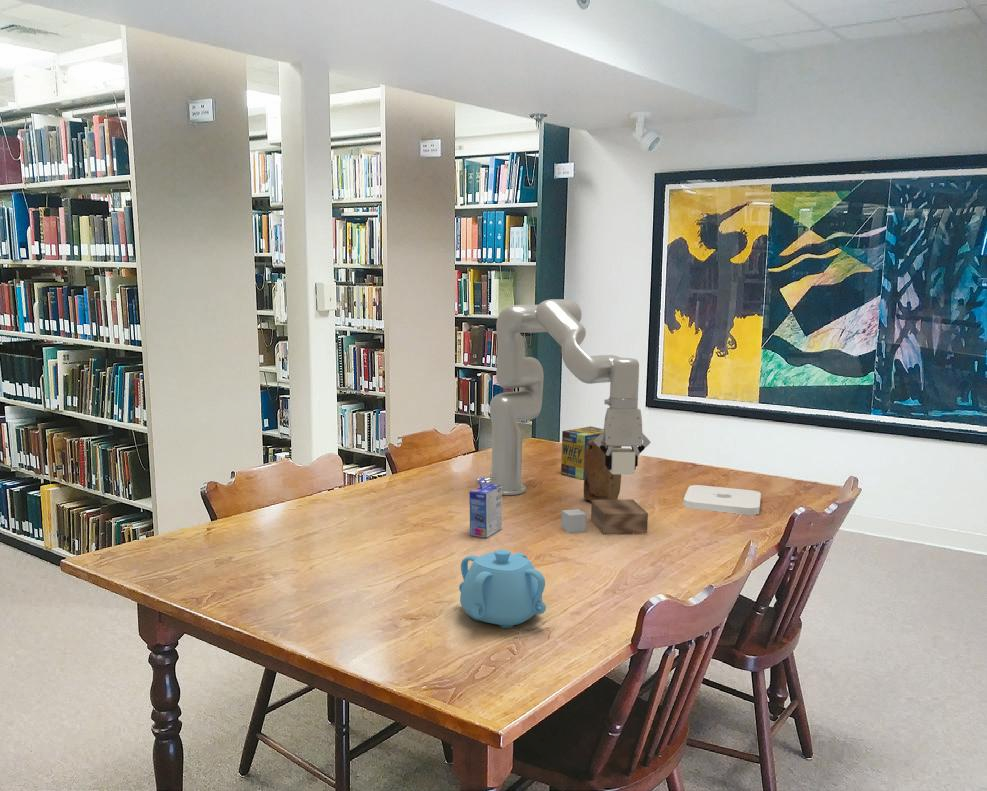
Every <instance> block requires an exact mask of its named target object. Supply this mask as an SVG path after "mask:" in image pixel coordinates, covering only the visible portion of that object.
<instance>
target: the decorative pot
mask: <svg viewBox="0 0 987 791" xmlns="http://www.w3.org/2000/svg"><path fill="white" fill-rule="evenodd" d="M469 561H471V565H470V567H469ZM460 572H461V575H462V576H461V577H462V580H463V581H462V582H461V583H460V584H459V589H458V590H459V592H460V596H459V602H460V605H461V607H462V609H463V610H464V612H465V613H466V614H467V616H470V617H471V618H472V620H474V621H481V622H483V623H488V624H493V625H499V627H501V628H503V629H510V628H513V627H514V626H517V625H520V624H522V623H525V622H526V621H528V620H530V619H531V618H532V617H533V616H535V615H542V614H544V613H545V612H546V609H547V606H546V604H545V602H544V601H543V593H544V591H545V589H546V588H545V587H546V579H545V576H544V574H542V572H540V571H539V570H538V569H535V567H534V565H533V563H532V561H531V560H530V559H528V556H527V555H526V554H525V553H522V552H516V553H511V551H510V550H508V549H502V548H501V549H496V550H494V552H488V553H485V554H482V555H480V556H478V555H473V554H472V555H468V556H465V557H464V558H463V559H462V560H461V563H460Z"/></svg>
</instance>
